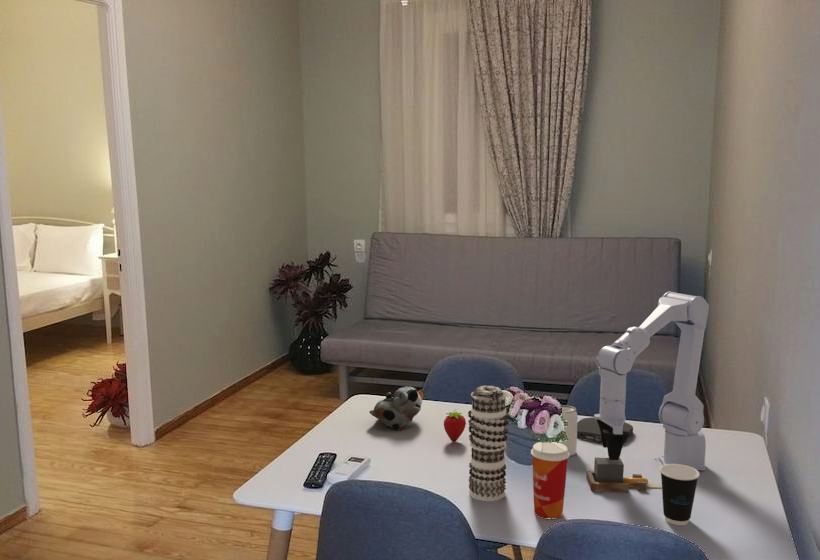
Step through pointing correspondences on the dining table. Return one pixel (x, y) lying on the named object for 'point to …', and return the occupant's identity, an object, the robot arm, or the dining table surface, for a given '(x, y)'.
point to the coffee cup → (549, 478)
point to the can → (570, 428)
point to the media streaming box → (596, 430)
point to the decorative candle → (487, 443)
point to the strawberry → (454, 425)
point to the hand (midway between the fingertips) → (610, 453)
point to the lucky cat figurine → (399, 407)
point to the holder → (617, 484)
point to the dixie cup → (678, 492)
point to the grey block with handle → (612, 472)
